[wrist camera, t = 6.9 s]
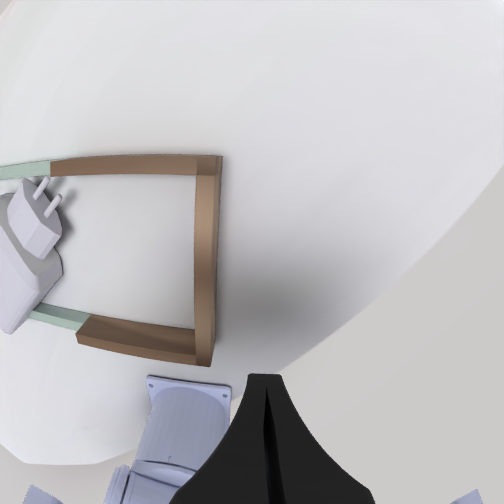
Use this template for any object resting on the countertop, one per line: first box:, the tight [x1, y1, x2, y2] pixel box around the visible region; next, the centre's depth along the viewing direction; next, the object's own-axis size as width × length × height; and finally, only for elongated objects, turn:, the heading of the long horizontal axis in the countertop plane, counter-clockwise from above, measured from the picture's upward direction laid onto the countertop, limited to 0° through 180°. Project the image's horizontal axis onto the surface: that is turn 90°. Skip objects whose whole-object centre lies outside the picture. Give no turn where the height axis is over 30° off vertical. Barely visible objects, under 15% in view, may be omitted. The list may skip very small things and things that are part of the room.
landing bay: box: [0, 158, 91, 331], centre depth 18 cm, size 14×18×2 cm
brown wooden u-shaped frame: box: [50, 154, 223, 367], centre depth 18 cm, size 14×11×3 cm
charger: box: [0, 176, 63, 334], centre depth 17 cm, size 5×9×15 cm
